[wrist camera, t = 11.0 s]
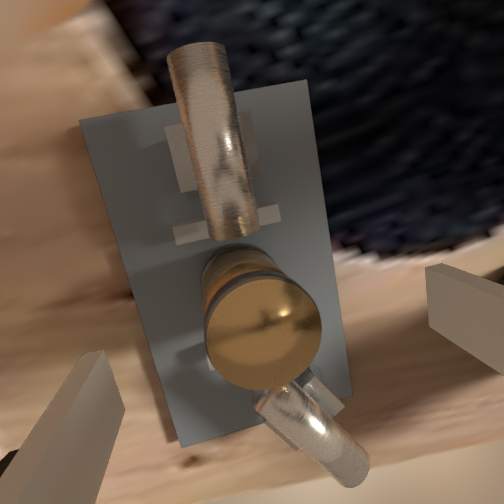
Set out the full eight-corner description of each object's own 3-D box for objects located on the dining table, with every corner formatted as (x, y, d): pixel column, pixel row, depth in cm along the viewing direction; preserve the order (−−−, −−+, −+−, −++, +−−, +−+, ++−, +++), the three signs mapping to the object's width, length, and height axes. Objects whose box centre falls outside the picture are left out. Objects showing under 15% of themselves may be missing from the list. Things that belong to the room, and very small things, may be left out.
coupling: (184, 293, 21) (180, 361, 13) (227, 227, 20) (248, 255, 12) (250, 329, 22) (281, 409, 14) (291, 267, 21) (346, 315, 14)
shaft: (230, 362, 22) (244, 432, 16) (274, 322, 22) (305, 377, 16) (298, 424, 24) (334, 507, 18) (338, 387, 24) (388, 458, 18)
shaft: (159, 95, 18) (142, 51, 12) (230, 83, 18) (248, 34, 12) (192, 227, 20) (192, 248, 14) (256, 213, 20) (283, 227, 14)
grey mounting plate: (84, 123, 18) (64, 112, 16) (301, 84, 20) (319, 68, 17) (181, 437, 24) (180, 473, 21) (346, 387, 25) (366, 413, 23)
